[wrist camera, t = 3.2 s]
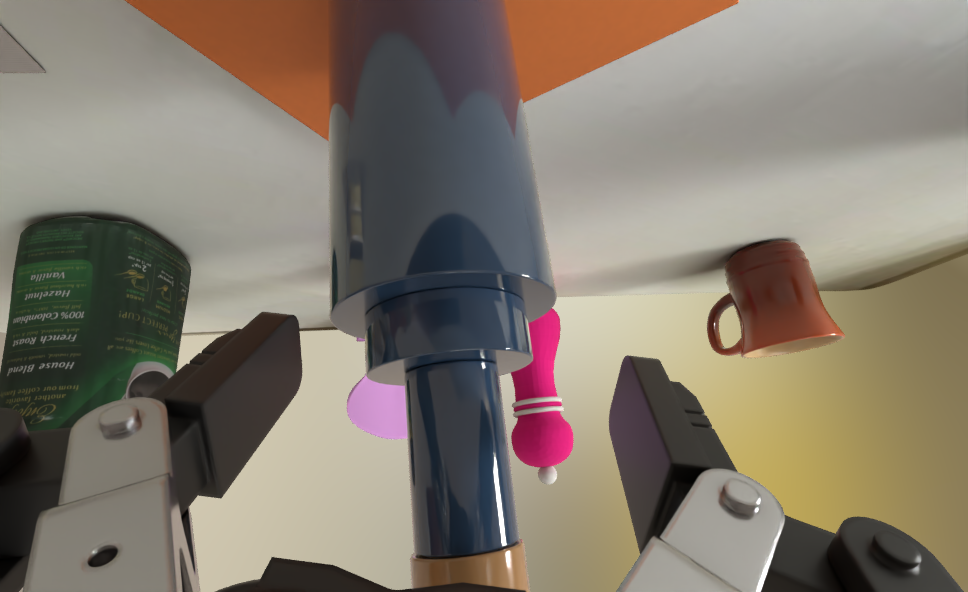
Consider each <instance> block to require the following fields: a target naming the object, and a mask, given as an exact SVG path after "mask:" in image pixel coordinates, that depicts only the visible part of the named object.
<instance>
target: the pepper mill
mask: <svg viewBox="0 0 968 592" xmlns="http://www.w3.org/2000/svg"><path fill="white" fill-rule="evenodd" d="M528 325H529V331H530V338H531V345H532V351H533V361H532V362H531V363H530V364H529V365H527V366H526V367H524V368H522V369H519V370H517V371H514V372H511V375H512V378H513V382H514V387H515V397H516V402H515V403H513V404H512V407H513V408H514V411H515V413H514V414H513V416H514V417H516V418H518V421H517V424H516V426H515V428H514V429H513V432H512V436H511V437H512V445H513V450H514V452H515V454H516V456H517V457H518V458H519V459H520V460H521V461H522V462H524V463H525V464H527V465H530V466H534V467H541V468H540V469H539V472H538V476H539V479H540V480H541V482H542V483H544V484H552V483H553V482H554V481H555V480H556V477H557V472H556V470H555V468H554V467H553V466H554V465H557V464H559V463H561V462H562V461H564V460H565V459H566V458H567V457H568V456H569V455H570V453H571V451H572V448H573V432H572V429H571V426H570V425H569V424H568V423H567V422H566V421H565V420H564V419H563V417H562V416H561V414H560V412H562V411H563V410H564V408H563V407H561V405H562V404H561V401H562V398H561V397H557V393H556V388H555V384H554V374H553V370H554V360H555V355H556V351H557V347H558V342H559V339H560V319H559V316H558V314H557V313H556V312H555V310H554V309H552V308H551V309H550V310H549V311H548V312H547V313H546V314H544V315H543V316H542V317H540V318H538V319H536V320H534V321H533V322H530V323H528Z"/></svg>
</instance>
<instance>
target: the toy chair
mask: <svg viewBox="0 0 968 592" xmlns="http://www.w3.org/2000/svg"><path fill="white" fill-rule="evenodd" d="M357 341H365V339H362V338H358V337H357ZM347 412H348V416H349V418H350V419H351V421H352V422H353V423H354V424H355V425H356V426H357V427H359V428H360V429H362V430H364V431H366V432H368V433H370V434H373V435H375V436H378V437H381V438H386V439H404V438H408V437H407V420H406V403H405V386H399V385H387V384H381V383H377V382H374V381H371V380H369V379H368V378H367V376H366V374H365V376H364V377H363V378H362V379H361V380H360V381H359V382H358V383H357V384H356V385H355V386H354V388H353V389H352V390H351V392H350V394H349V397H348V400H347Z"/></svg>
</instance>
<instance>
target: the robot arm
mask: <svg viewBox="0 0 968 592" xmlns="http://www.w3.org/2000/svg"><path fill="white" fill-rule="evenodd" d="M301 378H302V360H301V347H300V333H299V323H298V320H297V318H296V316H294V315H287V314H279V313H270V312H261V313H260V314H259V315H258V316H256V317H255V318H254V319H253V320H252V321H251V322H250V323H249V324H247V325H246V326H245V327H244V328H243V329H236V330H234V331H232V332H229V333H227V334H225V335H223V336H221V337H219V338H217V339H216V340H214V341H213V342H212V343H211V344H209V345H208V346H207V347H206V348H205V349H203V351H202V353H199V354H198V355H196V356H195V357H194V358H193V359H192V360H191V361H190V363H189V364H186V365H185V366H183V367H182V368H181V369H180V370H179V371H177V372H176V373H175V374H174V375H173V376H171V377H170V378H169V379H168V380H167V381H166V382H164V383H163V384H162V385H161V386H160V387H158V388H157V389H156V390H155V391H154V392H153V393H151V394H150V395H149V396H148V397H147V398H146V397H135V398H127V399H122V400H118V401H114V402H111V403H108V404H105V405H103V406H100V407H98V408H96V409H94V410H92V411H90V412H89V413H87V414H86V415H84V416H83V417H82V418H80V419H79V420H78V421H77V422H76V423H75V424H74V426H73V427H70V428H60V429H49V430H38V431H28V430H27V428H26V425H25V423H24V420H23V418H22V415H21V414H20V413H19V412H18V411H16V410H13V409H10V408H0V592H19V591H20V590H21V588H22V587H23V592H200V586H199V577H198V569H197V561H196V552H195V544H194V535H193V528H192V527H193V526H192V518H191V513H190V509H189V506H190V505H191V503H192V502H193V501H194V499H195V498H196V497H197V496H198V495H199V496H207V497H214V498H222V497H223V495H224V494H225V492H226V491H227V490H228V488H229V487H230V485H231V484H232V482H233V481H234V480H235V478H236V477H237V476H238V474H239V473H240V472H241V470H242V469H243V467H244V466H245V465H246V463H247V462H248V460H249V459H250V457H251V456H252V455H253V453H254V452H255V451H256V449H257V448H258V447H259V445H260V444H261V442H262V441H263V440H264V438H265V437H266V435H267V434H268V433H269V431H270V430H271V428H272V427H273V426H274V424H275V423H276V421H277V420H278V419H279V417H280V416H281V414H282V413H283V412H284V410H285V409H286V408H287V406H288V405H289V403H290V402H291V400H292V399H293V398H294V396H295V395H296V393H297V391H298V389H299V387H300V383H301ZM609 430H610V436H611V440H612V444H613V448H614V452H615V456H616V460H617V464H618V468H619V471H620V476H621V480H622V483H623V487H624V491H625V496H626V499H627V503H628V507H629V511H630V515H631V519H632V523H633V527H634V531H635V535H636V539H637V543H638V547H639V551H640V554H641V555H640V556H639V558H638V559H637V561H636V562H635V564H634V565H633V567H632V569H631V570H630V571H629V573H628V574H627V576H626V577H625V579H624V581H623V582H622V583H621V585H620V587H619V588H618V590H617V591H616V592H964V591H963V590H962V589H961V588H960V586H959V585H958V584H957V583H956V582H955V581H954V579H953V578H952V577H951V576H950V574H949V573H948V572H947V570H946V569H945V568H944V567H943V566H942V564H941V563H940V562H939V561H938V560H937V559H936V558H935V556H934V555H933V554H932V553H931V552H929V551H928V550H927V549H926V548H925V547H924V546H923V545H921V544H920V543H919V542H918V541H916V540H915V539H913V538H912V537H910V536H909V535H907V534H906V533H904V532H902V531H900V530H898V529H896V528H895V527H893V526H891V525H888V524H886V523H884V522H881V521H878V520H875V519H870V518H866V517H851V518H848V519H846V520H844V521H843V523H842V524H841V526H840V527H839V529H838V531H837V532H836V534H835V533H832V532H829V531H826V530H823V529H821V528H818V527H815V526H812V525H810V524H807V523H804V522H801V521H799V520H796V519H793V518H791V517H788V516H786V515H784V512H783V509H782V507H781V505H780V503H779V502H778V501H777V499H776V498H775V497H774V496H773V495H772V493H771V492H770V491H768V490H767V489H766V488H765V487H764V486H762V485H761V484H760V483H758V482H757V481H755V480H753V479H751V478H750V477H748V476H745V475H743V474H741V473H738V472H737V470H736V468H735V467H734V465H733V463H732V461H731V459H730V457H729V455H728V454H727V452H726V450H725V448H724V447H723V445H722V443H721V441H720V440H719V437H718V436H717V434H716V432H715V430H714V429H712V425H711V423H710V421H709V419H708V418H707V416H705V415H704V410H703V409H702V407H701V405H700V403H699V402H698V400H697V398H696V396H694V395H693V394H692V393H691V392H690V391H689V390H687V388H685V387H684V386H683V385H682V384H681V383H680V382H672V381H670V380H669V378H668V376H667V374H666V372H665V370H664V368H663V366H662V364H661V362H660V361H659V360H658V359H653V358H644V357H636V356H625V358H624V359H623V362H622V365H621V369H620V373H619V377H618V381H617V384H616V388H615V392H614V396H613V400H612V404H611V409H610V415H609ZM216 592H526V591H525V590H518V589H510V588H502V587H495V586H487V585H480V584H472V583H464V582H461V583H453V584H445V585H437V586H429V587H421V588H413V589H405V590H391V589H388V588H386V587H383V586H381V585H379V584H376V583H374V582H372V581H369V580H367V579H364V578H362V577H360V576H357V575H355V574H353V573H351V572H348V571H346V570H343V569H341V568H339V567H337V566H334V565H328V564H320V563H312V562H305V561H297V560H290V559H282V558H274V557H272V558H271V560H270V562H269V564H268V566H267V568H266V569H265V571H264V573H263V575H262V577H261V579H258V580H252V581H247V582H243V583H239V584H235V585H232V586H229V587H226V588H223V589H221V590H218V591H216Z"/></svg>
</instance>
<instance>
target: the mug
mask: <svg viewBox="0 0 968 592" xmlns="http://www.w3.org/2000/svg"><path fill="white" fill-rule="evenodd" d="M725 271H726V272H725V276H726V279H727V281H726V283H727V285H728V288H729V291H730V293H729V294H727V295H725V296H724V297H722V298H721V299H720V300H719V301H718V302H717V303H716V304H715V305H714V306H713V308H712V309H711V311H710V313H709V316H708V321H707V333H708V338H709V342H710V344H711V347H712V348H713V350H714V351H716V352H717V353H719V354H721V355H727V356H730V355H736V354H741V356H742V357H744V358H761V357H770V356H777V355H783V354H789V353H794V352H800V351H804V350H809V349H813V348H818V347H821V346H825V345H828V344H832V343H835V342H837V341H840V340H842V339H843V338H844V337H845V335H844V333H843V332H842V331H841V330H840V328H839V327H838V326H837V325H836V323H835V322H834V321H833V319H832V318H831V317H830V315H829V314H828V312H827V311H826V309H825V307H824V305H823V303H822V300H821V298H820V295H819V291H818V288H817V285H816V282H815V279H814V276H813V273H812V270H811V268H810V265H809V261H808V259H807V258H806V256H805V253H804V252H803V251H802V250H801V248H800V246H799V245H798V244H796V243H794V242H791V241H787V240H775V241H768V242H763V243H759V244H756V245H753V246H750V247H747V248H745V249H743V250H741V251H739V252H737V253H735V254H734V255H733V256H732V257H731V258H730V259H729V260H728V261H727V263H726V265H725ZM733 305H734V307H735V309H736V312H737V315H738V318H739V321H740V326H741V337H742V338H741V339H740V340H739V341H738V342H737V344H736V345H734V346H733V347H731V348H725V347H724V346H723V344H722V342H721V339H720V334H719V319H720V316H721V314H722V313H723V312H724V310H726V309H727V308H729V307H730V306H733Z"/></svg>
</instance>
